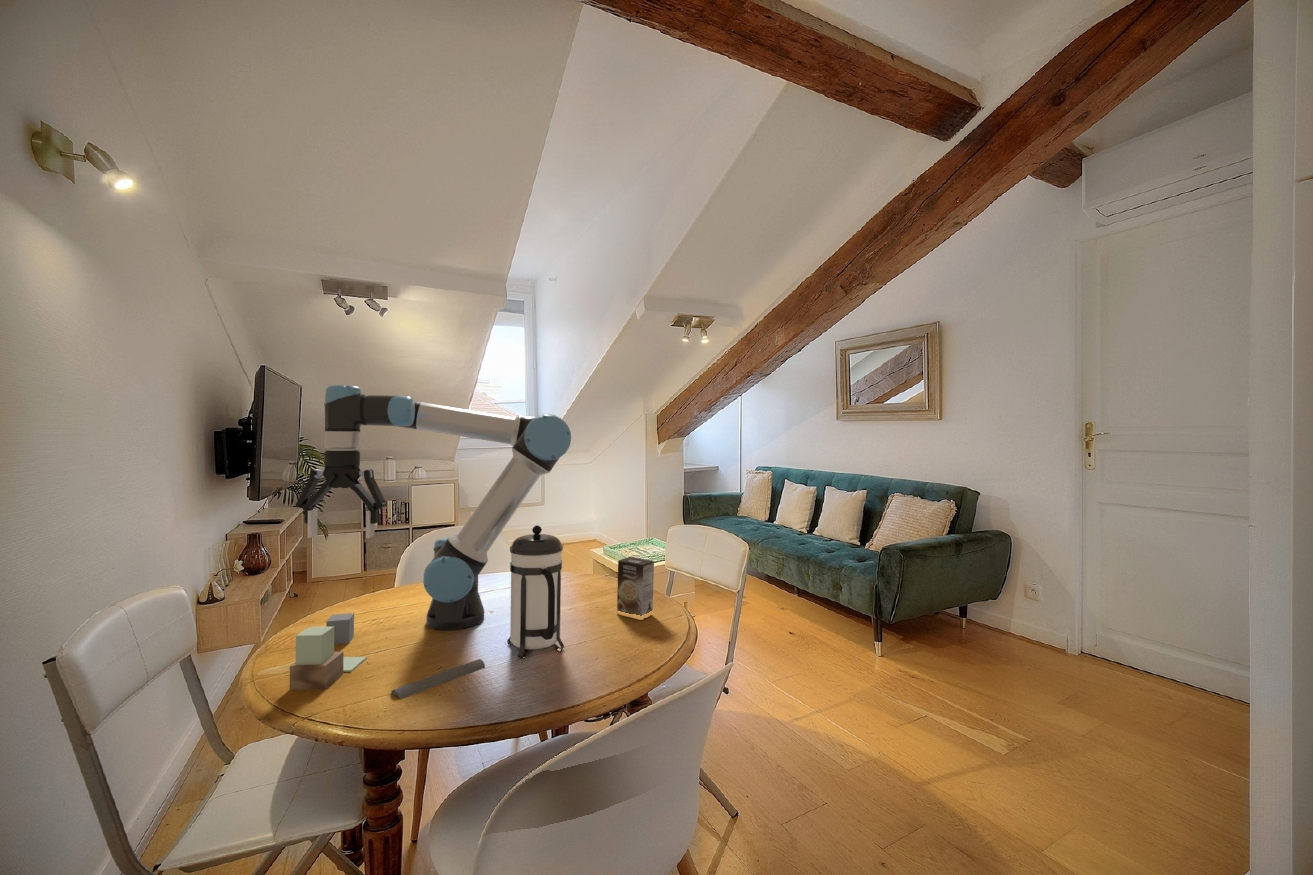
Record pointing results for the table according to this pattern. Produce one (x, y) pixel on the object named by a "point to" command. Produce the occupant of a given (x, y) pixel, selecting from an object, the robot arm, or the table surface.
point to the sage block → (314, 645)
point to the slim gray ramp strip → (438, 679)
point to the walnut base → (316, 674)
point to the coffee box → (635, 586)
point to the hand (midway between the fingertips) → (341, 537)
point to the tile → (351, 663)
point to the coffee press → (535, 592)
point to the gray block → (342, 627)
